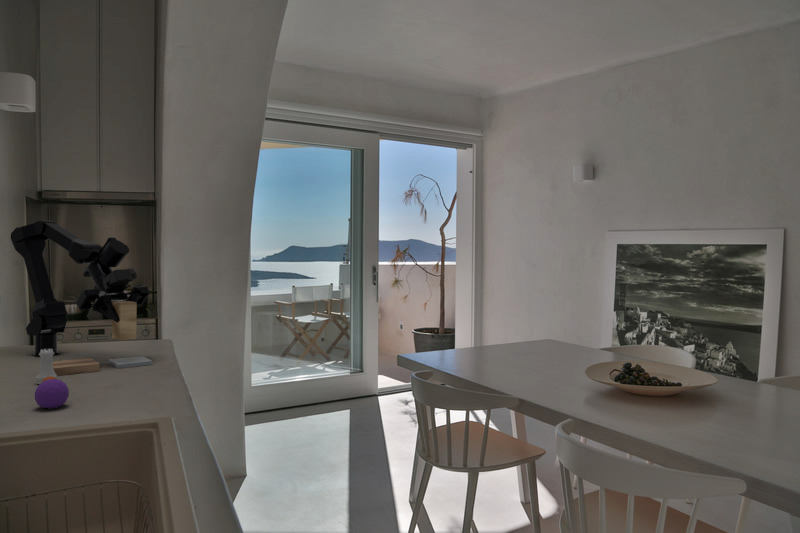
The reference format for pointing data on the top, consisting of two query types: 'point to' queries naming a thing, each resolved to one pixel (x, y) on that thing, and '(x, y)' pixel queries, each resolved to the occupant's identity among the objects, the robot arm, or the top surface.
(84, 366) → the walnut ledge
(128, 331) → the oak block
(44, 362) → the rook chess piece
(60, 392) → the purple round ball
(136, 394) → the top surface
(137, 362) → the slate tile
